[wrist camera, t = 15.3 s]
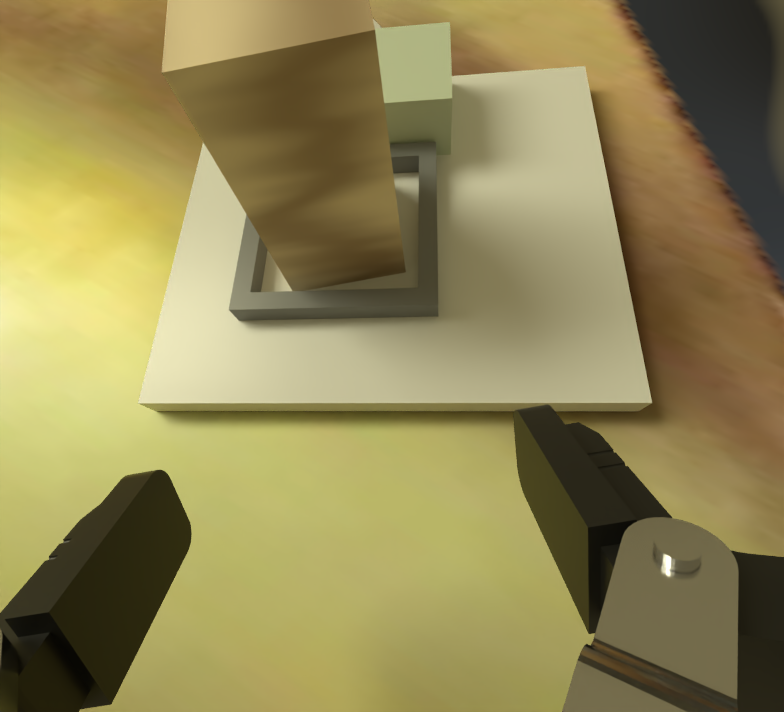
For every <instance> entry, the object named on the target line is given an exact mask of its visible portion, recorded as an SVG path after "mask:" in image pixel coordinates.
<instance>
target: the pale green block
mask: <svg viewBox="0 0 784 712" xmlns="http://www.w3.org/2000/svg"><path fill="white" fill-rule="evenodd" d="M375 34H376V42H377V49H378V57H379V65H380V73H381V81H382V89H383V97H384V105H385V113H386V120H387V128H388V136H389V144H404V143H420V142H436V155H451V127H452V73H451V43H450V22H446V23H435V24H423V25H412V26H400V27H389V28H378V29H375Z"/></svg>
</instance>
